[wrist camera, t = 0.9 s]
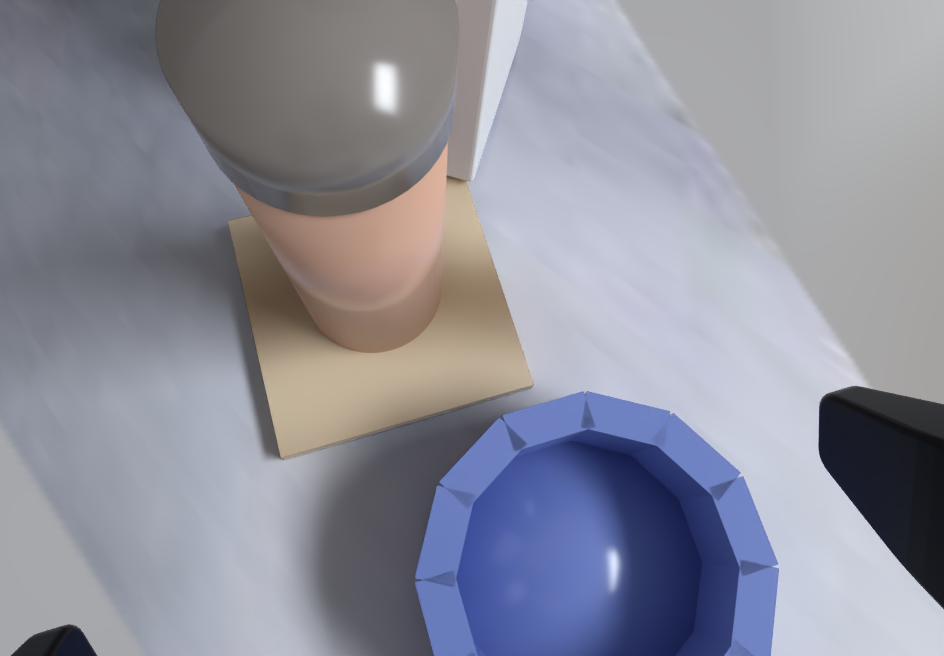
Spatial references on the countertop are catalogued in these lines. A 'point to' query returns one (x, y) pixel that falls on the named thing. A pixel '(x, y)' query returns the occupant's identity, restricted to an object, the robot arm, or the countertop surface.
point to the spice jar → (330, 144)
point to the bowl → (595, 541)
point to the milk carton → (481, 76)
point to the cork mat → (385, 373)
